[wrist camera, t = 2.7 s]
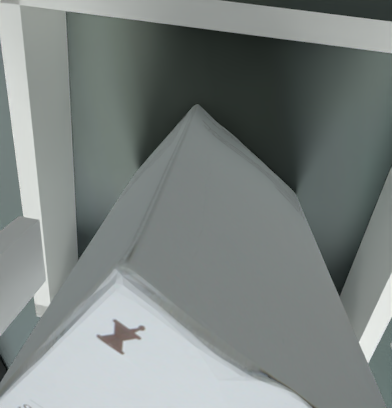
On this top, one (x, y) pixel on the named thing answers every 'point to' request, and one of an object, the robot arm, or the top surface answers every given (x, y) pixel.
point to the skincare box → (196, 297)
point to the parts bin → (62, 128)
